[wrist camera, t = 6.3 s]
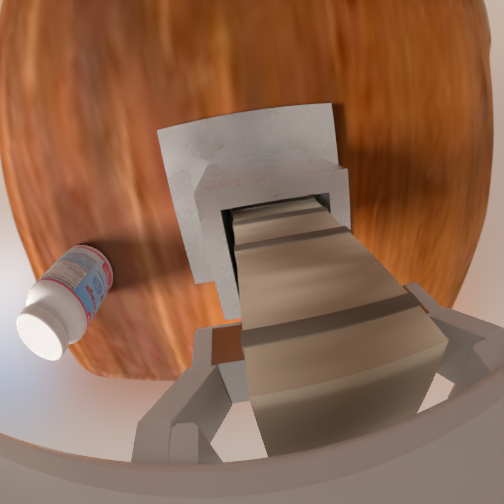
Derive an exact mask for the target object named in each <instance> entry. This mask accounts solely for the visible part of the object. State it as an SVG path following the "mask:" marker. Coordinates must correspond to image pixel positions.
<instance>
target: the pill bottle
mask: <svg viewBox="0 0 504 504" xmlns="http://www.w3.org/2000/svg"><path fill="white" fill-rule="evenodd" d="M112 282H113V272H112V268H111V265H110V263H109V261H108V260H107V258H106V257H105V256H104V255H103V254H102V253H101V252H100V251H98V250H97V249H95V248H93V247H90V246H86V245H77V246H74V247H72V248H70V249H69V250H68V251H67V252H66V253H65V254H64V255H63V256H62V257H61V258H59V260H57V261H56V262H55V263H54V264H53V265H52V266H51V267H50V269H49V270H48V271H47V272H46V273H45V274H44V275H43V276H42V277H41V278H40V279H39V280H38V281H37V282H36V283H35V284H34V285H33V287H32V288H31V289H30V291H29V293H28V296H27V303H26V304H27V306H26V307H25V308H24V309H23V311H22V312H21V314H20V315H19V316H18V318H17V323H16V326H17V330H18V333H19V335H20V337H21V339H22V340H23V342H24V343H25V345H26V346H27V347H28V348H29V349H30V350H31V351H33V352H34V353H35V354H37V355H38V356H40V357H42V358H44V359H47V360H58V359H60V358H61V357H62V355H63V354H64V352H65V350H66V349H67V348H68V344H72V343H75V342H77V341H78V340H80V339H81V338H82V336H83V335H84V333H85V331H86V330H87V328H88V326H89V324H90V322H91V321H92V319H93V317H94V315H95V314H96V312H97V310H98V308H99V307H100V305H101V303H102V302H103V300H104V298H105V297H106V295H107V293H108V292H109V290H110V288H111V286H112Z"/></svg>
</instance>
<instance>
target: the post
mask: <svg viewBox="0 0 504 504" xmlns="http://www.w3.org/2000/svg"><path fill="white" fill-rule="evenodd" d="M232 215H233V220H234V222H232V223H233V230H234V235H235V245H234V253H235V257H236V262H237V271H238V283H239V295H240V307H241V318H242V331H240V337H241V348H242V351H243V355H244V359H245V363H246V373H247V383H248V393H249V399H250V402H251V405H252V408H253V412H254V415H255V418H256V421H257V424H258V427H259V430H260V433H261V436H262V439H263V442H264V445H265V448H266V451H267V454H268V457H274V456H280V455H285V454H291V453H296V452H300V451H305V450H309V449H314V448H318V447H322V446H326V445H330V444H333V443H337V442H341V441H344V440H347V439H351V438H354V437H357V436H360V435H363V434H366V433H369V432H372V431H375V430H378V429H381V428H383V427H386V426H389V425H391V424H394V423H396V422H399V421H401V420H404V419H406V418H408V417H411V416H413V415H415V414H417V412H418V410H419V408H420V406H421V404H422V402H423V400H424V398H425V396H426V393H427V392H428V389H429V387H430V385H431V383H432V381H433V378H434V376H435V374H436V371H437V369H438V367H439V364H440V362H441V359H442V357H443V354H444V352H445V349H446V346H447V344H448V341H449V340H448V339H447V337H446V336H445V335H444V334H443V333H442V331H441V330H440V329H439V328H438V327H437V325H436V324H435V323H434V322H433V321H432V319H431V318H430V317H429V316H428V315H427V314H426V312H425V311H424V310H423V309H422V308H421V305H422V303H421V302H420V301H419V300H418V299H417V298H416V296H415V295H414V294H413V293H412V292H409V293H408V292H407V291H406V290H405V289H404V288H403V287H402V285H401V284H400V283H399V282H398V281H397V280H396V279H395V278H394V277H393V276H392V275H391V274H390V273H389V271H388V270H387V269H386V268H385V267H384V266H383V265H382V264H381V263H380V262H379V261H378V260H377V259H376V258H375V257H374V256H373V255H372V254H371V253H370V252H369V251H368V250H367V249H366V248H365V247H364V246H363V245H362V244H361V243H360V242H359V241H358V240H357V239H356V238H355V237H354V236H353V235H352V234H351V230H350V229H349V228H348V227H347V226H343V225H342V224H341V223H340V222H339V221H338V220H337V219H335V218H334V217H333V216H332V215H331V214H330V213H329V212H328V209H327V208H326V207H325V206H322V205H320V204H319V203H318V202H317V201H316V200H315V197H314V196H313V195H307V196H301V197H294V198H288V199H282V200H276V201H270V202H264V203H258V204H252V205H246V206H241V207H235V208H232Z"/></svg>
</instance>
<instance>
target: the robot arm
mask: <svg viewBox="0 0 504 504" xmlns="http://www.w3.org/2000/svg"><path fill="white" fill-rule="evenodd" d="M402 287H403V288H404V289H405V290H406V291H407V292H408V293H409V292H412V293H413V294H414V295H415V296H416V298H417V299H418V300H419V301H420V302H421V303H422V305H421V308H422V309H423V310H424V311H425V312H426V314H427V315H428V316H429V317H430V318H431V319H432V321H433V322H434V323H435V324H436V325H437V327H438V328H439V329H440V330H441V331H442V333H443V334H444V335H445V336H446V337H447V339H448V340H449V341H448V344H447V346H446V349H445V352H444V354H443V357H442V359H441V362H440V364H439V367H438V369H437V371H436V372H437V373H438V374H440V375H442V376H443V377H445V378H446V379H448V380H450V381H451V382H453V383H455V384H454V386H453V388H452V390H451V392H450V394H449V396H448V399H447V400H445V401H443V402H441V403H439V404H437V405H435V406H433V407H431V408H429V409H426V410H424V411H422V412H420V413H418V414H415V415H413V416H411V417H408V418H406V419H404V420H401V421H399V422H396V423H394V424H391V425H389V426H386V427H383V428H381V429H378V430H375V431H372V432H369V433H366V434H363V435H360V436H357V437H354V438H351V439H347V440H344V441H341V442H337V443H333V444H330V445H326V446H322V447H318V448H314V449H309V450H305V451H300V452H296V453H291V454H285V455H280V456H274V457H268V458H261V459H254V460H246V461H236V462H225V463H223V462H222V460H221V459H220V458H219V456H218V455H217V453H216V452H215V450H214V449H213V448H212V446H211V445H210V442H211V441H212V439H213V437H214V435H215V433H216V432H217V430H218V429H219V427H220V425H221V424H222V422H223V420H224V418H225V417H226V415H227V413H228V412H229V410H230V408H231V406H232V403H237V402H243V401H249V400H250V399H249V393H248V383H247V373H246V363H245V359H244V355H243V351H242V348H241V337H240V331H242V322H240V323H233V324H226V325H219V326H213V327H205V328H198V329H197V330H196V331H195V338H194V348H193V359H192V368H188V369H186V370H185V371H184V372H183V373H182V375H181V376H180V377H179V378H178V379H177V380H176V381H175V382H174V384H173V385H172V386H171V387H170V388H169V389H168V390H167V391H166V392H165V394H164V395H163V396H162V397H161V398H160V399H159V400H158V401H157V402H156V403H155V404H154V406H153V407H152V408H151V409H150V410H149V411H148V412H147V413H146V414H145V415H144V416H143V418H142V419H141V420H140V421H139V422H138V425H137V431H136V436H135V442H134V448H133V454H132V460H131V462H123V461H114V460H106V459H99V458H93V457H87V456H81V455H76V454H71V453H66V452H62V451H57V450H53V449H49V448H46V447H41V446H38V445H35V444H31V443H28V442H25V441H22V440H19V439H16V438H13V437H10V436H7V435H4V434H2V433H0V504H504V329H503V328H502V327H500V326H497V325H494V324H491V323H489V322H486V321H483V320H480V319H478V318H475V317H472V316H469V315H466V314H464V313H461V312H458V311H455V310H452V309H450V308H447V307H445V308H441V307H440V305H439V304H438V303H437V302H436V301H435V300H434V299H433V298H432V297H431V296H430V295H429V294H428V293H427V292H426V291H425V290H424V289H423V288H422V287H421V286H420V285H419V284H418V283H416V282H412V283H409V284H406V285H403V286H402Z"/></svg>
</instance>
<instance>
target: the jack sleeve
mask: <svg viewBox="0 0 504 504" xmlns="http://www.w3.org/2000/svg"><path fill="white" fill-rule="evenodd" d="M157 133H158V138H159V143H160V147H161V152H162V157H163V161H164V166H165V170H166V175H167V179H168V183H169V187H170V192H171V196H172V200H173V204H174V208H175V212H176V216H177V220H178V224H179V227H180V231H181V235H182V239H183V242H184V246H185V250H186V253H187V257H188V260H189V264H190V267H191V271H192V274H193V278H194V281H195V284H200V283H205V282H211V281H215V284H216V288H217V292H218V296H219V299H220V303H221V307H222V310H223V314H224V318H225V320H231V319H237V318H241V307H240V295H239V283H238V271H237V262H236V257H235V253H234V245H235V235H234V230H233V223H232V222H234V220H233V215H232V208H235V207H241V206H246V205H252V204H258V203H264V202H270V201H276V200H282V199H288V198H294V197H301V196H307V195H313V196H314V197H315V200H316V201H317V202H318V203H319V204H320V205H322V206H325V207H326V208H327V209H328V212H329V213H330V214H331V215H332V216H333V217H334V218H335V219H337V220H338V221H339V222H340V223H341V224H342V225H343V226H347V227H348V228H349V229H350V230H351V221H350V197H349V180H348V169H347V168H345V167H343V166H340V165H338V154H337V145H336V136H335V127H334V119H333V111H332V104H331V103H323V104H308V105H296V106H286V107H277V108H269V109H261V110H254V111H247V112H241V113H235V114H229V115H223V116H218V117H213V118H208V119H203V120H198V121H193V122H189V123H185V124H180V125H176V126H172V127H168V128H164V129H160V130H157Z"/></svg>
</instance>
